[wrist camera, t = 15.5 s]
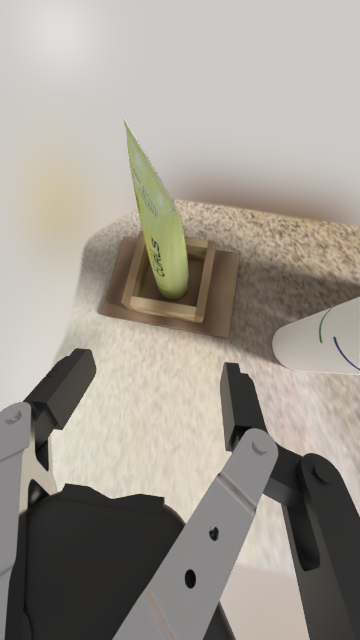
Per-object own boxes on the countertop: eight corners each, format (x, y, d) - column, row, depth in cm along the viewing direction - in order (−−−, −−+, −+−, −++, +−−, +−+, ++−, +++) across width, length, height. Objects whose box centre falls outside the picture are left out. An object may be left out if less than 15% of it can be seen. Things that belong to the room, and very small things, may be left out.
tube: (149, 292, 30) (86, 174, 11) (162, 265, 31) (123, 114, 12) (182, 305, 30) (173, 202, 11) (194, 277, 31) (205, 136, 12)
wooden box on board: (237, 258, 33) (247, 238, 27) (226, 338, 30) (235, 332, 24) (126, 241, 34) (115, 219, 29) (105, 316, 31) (88, 306, 26)
